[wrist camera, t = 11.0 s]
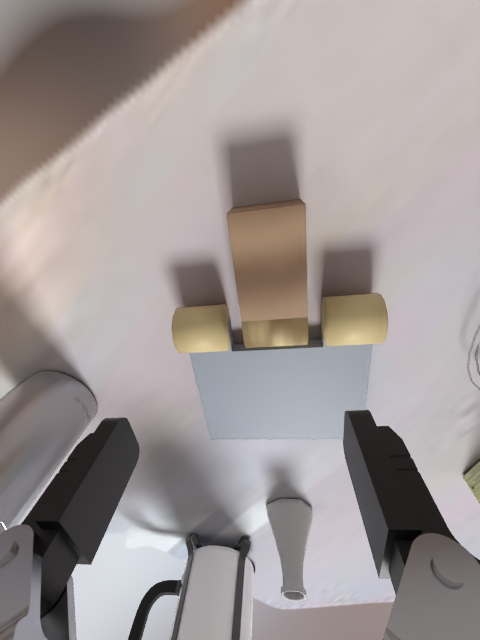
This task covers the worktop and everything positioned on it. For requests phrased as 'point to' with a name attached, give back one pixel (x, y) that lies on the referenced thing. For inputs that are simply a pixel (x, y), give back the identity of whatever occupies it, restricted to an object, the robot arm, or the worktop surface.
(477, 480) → the box
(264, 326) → the tan wooden beam
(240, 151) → the worktop surface
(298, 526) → the flask
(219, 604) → the coffee press
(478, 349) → the kitchen whisk
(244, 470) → the worktop surface
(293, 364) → the grey flat piece
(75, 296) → the worktop surface
